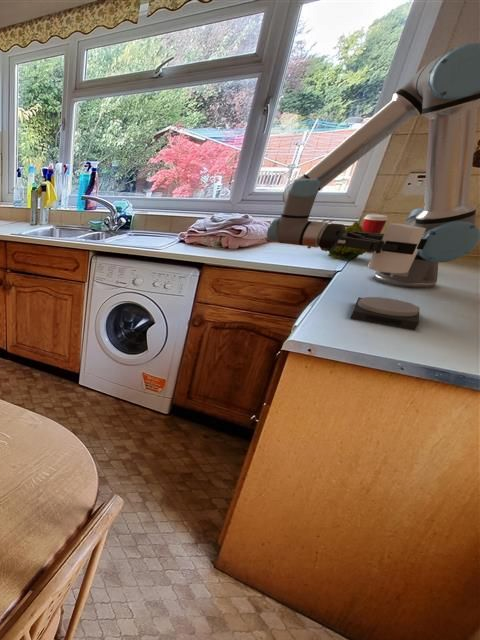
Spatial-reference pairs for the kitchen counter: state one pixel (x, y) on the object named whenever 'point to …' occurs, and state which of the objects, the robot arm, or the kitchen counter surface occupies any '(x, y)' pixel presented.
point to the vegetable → (344, 251)
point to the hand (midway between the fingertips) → (420, 246)
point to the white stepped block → (397, 260)
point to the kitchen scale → (386, 312)
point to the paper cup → (374, 223)
